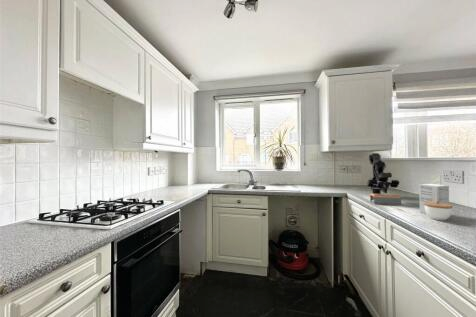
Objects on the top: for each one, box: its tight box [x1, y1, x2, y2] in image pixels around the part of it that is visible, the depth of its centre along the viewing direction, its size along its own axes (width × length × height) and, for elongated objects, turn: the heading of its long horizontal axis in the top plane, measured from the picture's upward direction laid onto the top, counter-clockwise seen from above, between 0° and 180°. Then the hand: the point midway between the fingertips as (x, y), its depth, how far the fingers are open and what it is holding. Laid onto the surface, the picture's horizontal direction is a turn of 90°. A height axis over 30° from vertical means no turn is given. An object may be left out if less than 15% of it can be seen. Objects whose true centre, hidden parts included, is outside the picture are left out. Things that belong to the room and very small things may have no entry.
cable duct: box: [369, 194, 402, 206], centre depth 145 cm, size 9×16×5 cm, turn 73°
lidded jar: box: [424, 201, 453, 221], centre depth 108 cm, size 11×11×9 cm
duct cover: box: [369, 193, 402, 199], centre depth 144 cm, size 8×16×1 cm, turn 73°
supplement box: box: [418, 183, 450, 215], centre depth 117 cm, size 10×9×17 cm
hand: (386, 192), depth 143 cm, fingers closed
